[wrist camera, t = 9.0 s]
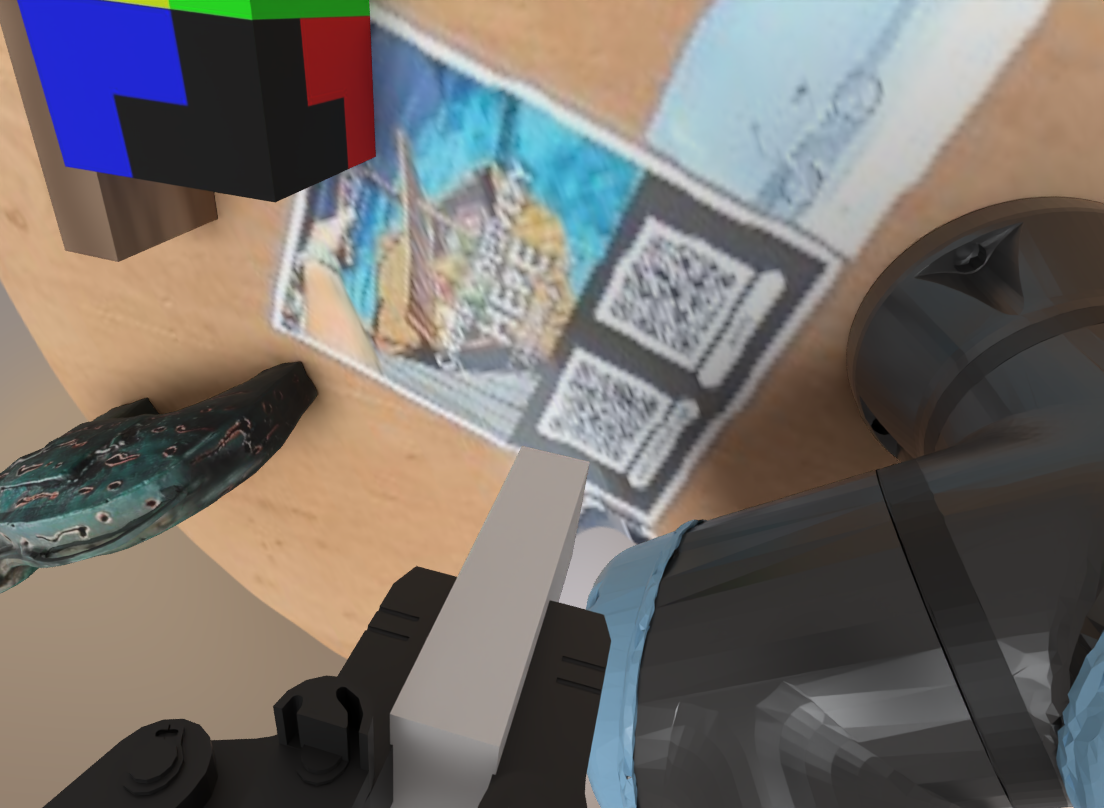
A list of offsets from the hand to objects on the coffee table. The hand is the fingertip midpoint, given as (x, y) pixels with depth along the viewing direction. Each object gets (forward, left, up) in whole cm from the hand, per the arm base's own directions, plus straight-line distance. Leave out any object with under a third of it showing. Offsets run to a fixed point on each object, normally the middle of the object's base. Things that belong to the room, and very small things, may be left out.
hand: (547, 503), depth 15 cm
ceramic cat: (+28, +19, -24) cm, 42 cm away
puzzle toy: (+20, -5, -24) cm, 32 cm away
